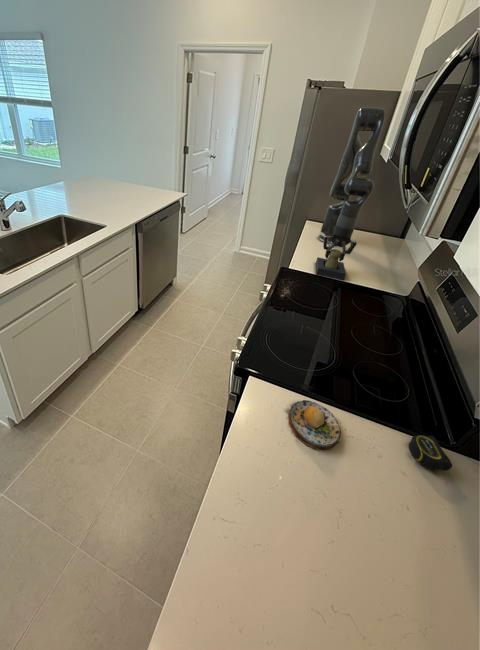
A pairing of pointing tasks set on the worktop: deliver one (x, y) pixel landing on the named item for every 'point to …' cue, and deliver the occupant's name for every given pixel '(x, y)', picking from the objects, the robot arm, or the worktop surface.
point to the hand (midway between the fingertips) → (333, 259)
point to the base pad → (330, 269)
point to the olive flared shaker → (333, 259)
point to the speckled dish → (314, 425)
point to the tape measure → (429, 453)
